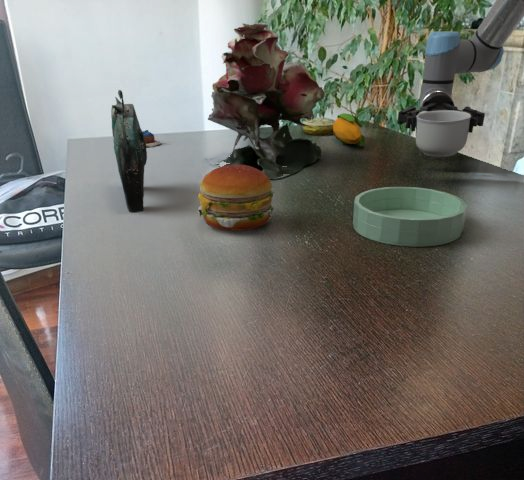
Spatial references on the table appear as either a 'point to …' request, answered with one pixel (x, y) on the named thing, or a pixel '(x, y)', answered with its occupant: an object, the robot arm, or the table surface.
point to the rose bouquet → (265, 102)
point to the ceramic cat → (129, 152)
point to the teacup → (442, 132)
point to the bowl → (409, 216)
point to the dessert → (150, 139)
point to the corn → (348, 129)
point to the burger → (236, 198)
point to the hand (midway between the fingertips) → (442, 125)
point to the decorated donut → (319, 126)
